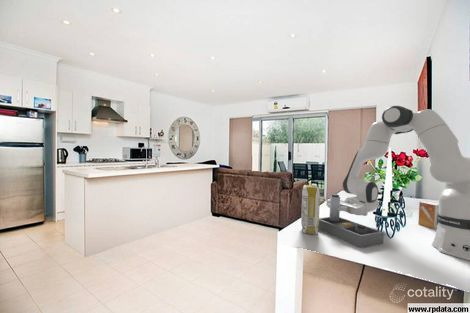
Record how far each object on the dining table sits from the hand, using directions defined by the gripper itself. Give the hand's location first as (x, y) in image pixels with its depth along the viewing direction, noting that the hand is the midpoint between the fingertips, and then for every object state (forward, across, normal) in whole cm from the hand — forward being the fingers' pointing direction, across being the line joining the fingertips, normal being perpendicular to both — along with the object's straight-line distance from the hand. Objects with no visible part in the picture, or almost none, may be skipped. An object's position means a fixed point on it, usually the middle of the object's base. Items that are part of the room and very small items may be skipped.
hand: (333, 207), depth 115 cm
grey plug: (-1, 0, +6) cm, 7 cm away
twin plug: (-1, +15, +10) cm, 18 cm away
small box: (-58, +14, +12) cm, 61 cm away
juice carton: (+13, -2, +12) cm, 18 cm away
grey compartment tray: (-1, +8, +12) cm, 14 cm away
